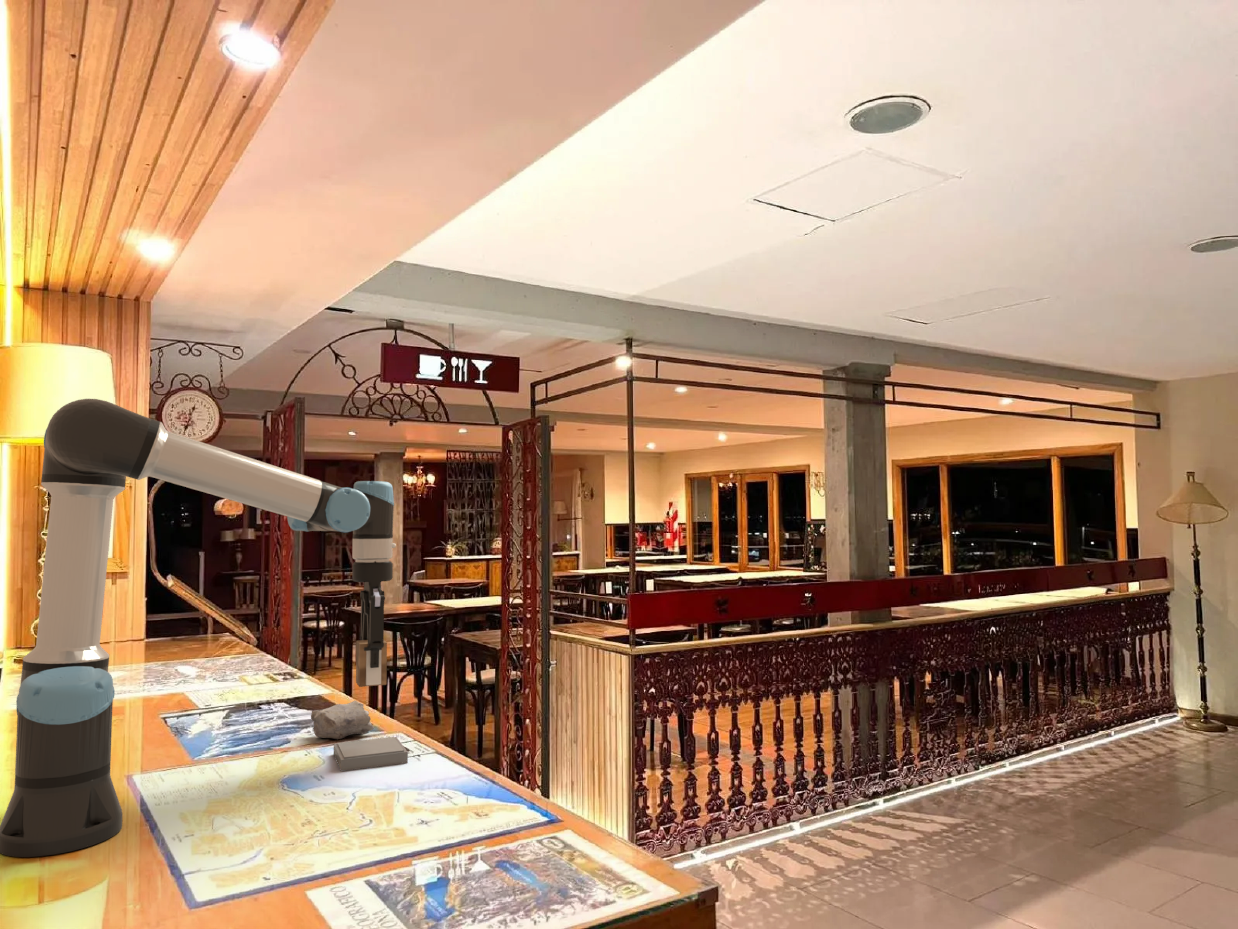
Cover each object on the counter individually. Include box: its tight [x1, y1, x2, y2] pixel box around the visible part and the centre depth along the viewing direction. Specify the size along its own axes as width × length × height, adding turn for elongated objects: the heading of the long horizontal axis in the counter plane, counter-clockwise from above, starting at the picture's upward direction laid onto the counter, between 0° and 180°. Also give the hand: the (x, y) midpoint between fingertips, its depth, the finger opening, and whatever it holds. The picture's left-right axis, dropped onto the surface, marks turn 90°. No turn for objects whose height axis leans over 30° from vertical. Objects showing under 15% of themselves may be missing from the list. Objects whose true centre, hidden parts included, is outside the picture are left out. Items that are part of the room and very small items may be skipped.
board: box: [333, 736, 409, 771], centre depth 161 cm, size 12×12×2 cm
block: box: [355, 639, 388, 688], centre depth 162 cm, size 5×5×8 cm
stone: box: [310, 700, 375, 740], centre depth 177 cm, size 8×12×7 cm, turn 125°
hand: (371, 681), depth 162 cm, fingers closed on block, 5 cm apart
